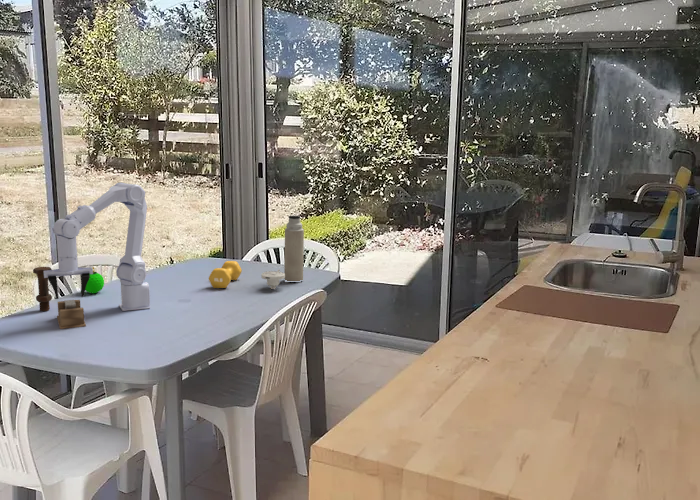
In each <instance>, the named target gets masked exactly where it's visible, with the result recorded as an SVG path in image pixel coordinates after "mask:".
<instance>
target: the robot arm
mask: <svg viewBox="0 0 700 500" xmlns="http://www.w3.org/2000/svg"><path fill="white" fill-rule="evenodd" d="M145 197H146V191H145V190H144V188H143V187H142V186H141V185H140V184H136V183H134V184H133V183H125V182H117V183H115V184H114V185H112V186H111V187H109V189H108V190H107V191H105V193H103V194H102V195H101V196H100V197H98V198H97V199H96V200H94V201H93V202H92V203H90V204H89V205H87V204H83V205H78V206H77V207H76V208H77V209H76V210H73V212H71V213H70V214H66V215H65V218H60V219H57V220H56V221H55V223H54V224H53V227H52V228H51V230H52V233H53V234H54V235H55V236H56V247H57V261H58V268H57V269H52V270H47V271H44V278H48V283H49V284H50V286H51V287H52V290H53V291H54V294H55V300H59V291H58V279H57V277H67V276H79V275H80V294H81V297H85V292H86V290H85V288H86V285H87V283H88V280H89V278H90V275H89V274H93V270H94V269H93V268H92V267H93V266H92V267H91V266H90V267H89V266H88V267H87V266H86V267H79V263H78V248H77V237H78V236H79V235H80V234H79V233H80V231H81V230H83V228H84V227H86V226H88V225H89V224H90V223H92V222H93V221H94V220H96V216H97V214H98V213H100V212H101V211H103V210H105V209H106V208H108V207H110V206H111V205H112V204H114V203H122V204H124V206H125V207H126V208H127V209H128V210H129V218H128V225H127V226H128V228H127V236H126V243H125V251H124V255H123V256H122V257H121V258H120V260H119V264H118V266H117V268H116V271H115V273H116V277H117V278H118V279H119V283H120V294H121V295H120V296H121V298H120V299H121V303H119V304H118V307H119V308H120V309H121V311H122V312H125V311H135V310H145V309H151V300H150V299H151V298H150V297H151V295H150V285H149V284H150V283H149V282H147V281H145V280H146V278H147V270H146V263H145V261H144V259H143V257H142V252H143V243H144V238H145V237H144V236H145V229H146V219H147V212H148V211H147V209H148V204H147V201H146V198H145Z"/></svg>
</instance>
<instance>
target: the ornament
mask: <svg viewBox="0 0 700 500" xmlns="http://www.w3.org/2000/svg"><path fill="white" fill-rule="evenodd" d="M92 268H93V274H89V275H90V278H89V280H88V283H87V285H86V288H85V292H87V293H89V294H97V293H99V292H101V291H102V290H103V289H104V287H105V286H104V285H105V279H104V277H103V275H102V274H100V273H99V272H97V271H95V267H93V266H92Z"/></svg>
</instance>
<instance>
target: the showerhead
mask: <svg viewBox="0 0 700 500" xmlns="http://www.w3.org/2000/svg"><path fill="white" fill-rule="evenodd" d="M260 276H261V279H263V280H266V281H267V282H266V285H268V286H269V287H270V288H271V289H275V288H277V287H278V286H279V285H280V280H282V279H284V278H285V274H284V272H282V271H280V269H279V268H278V269H277V270H274V271H272V270H271V271H269V270H268V271H264V272H262V273H261V275H260ZM270 288H269V289H270ZM271 289H270V290H271ZM275 290H276V289H275Z"/></svg>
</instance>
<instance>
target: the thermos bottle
mask: <svg viewBox="0 0 700 500" xmlns="http://www.w3.org/2000/svg"><path fill="white" fill-rule="evenodd" d="M285 227H286V228H284V264H283V265H284V267H283V268H284V270H283V271H284V272H283V273H284V274H285V278H283V279H285V280H287V281H300V280H303V281H304V245H305V244H304V243H305V242H304V241H305V238H304V237H305V234H304V233H305V229H304V228H303V223H302V222H301V216H300V215H295V214H294V215H288V221H287V223H286V226H285Z"/></svg>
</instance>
